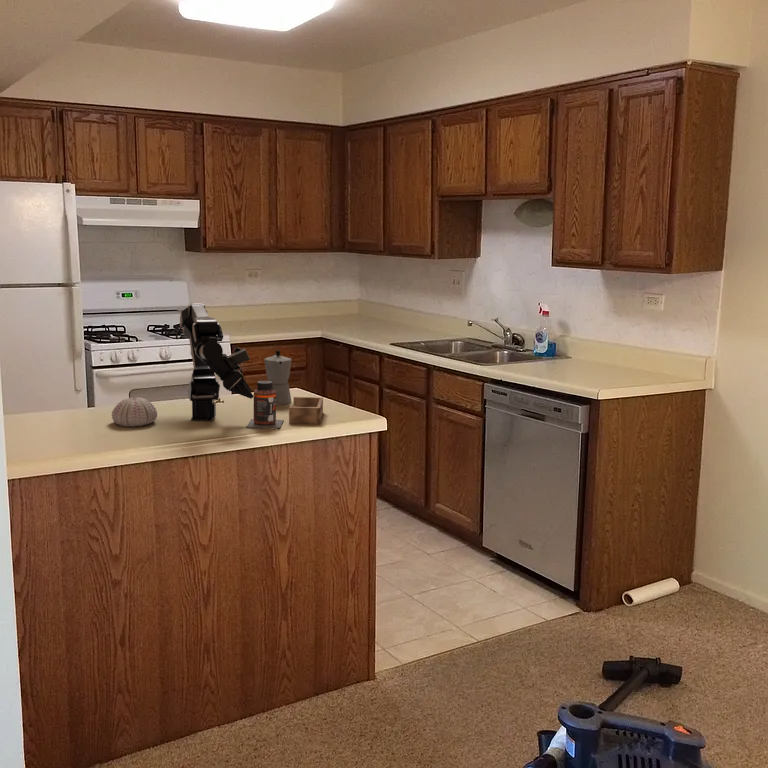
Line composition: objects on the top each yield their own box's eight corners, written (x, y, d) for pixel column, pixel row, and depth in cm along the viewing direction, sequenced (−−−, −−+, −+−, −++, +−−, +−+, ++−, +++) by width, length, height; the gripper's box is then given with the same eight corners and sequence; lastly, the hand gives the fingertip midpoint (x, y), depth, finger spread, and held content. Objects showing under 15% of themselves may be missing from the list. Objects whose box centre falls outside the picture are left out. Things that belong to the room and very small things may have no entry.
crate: (289, 423, 257) (289, 407, 256) (293, 411, 273) (293, 396, 272) (319, 423, 257) (320, 408, 256) (322, 412, 273) (323, 397, 272)
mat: (246, 428, 249) (246, 426, 249) (251, 420, 259) (251, 419, 259) (279, 428, 250) (279, 427, 250) (283, 421, 260) (283, 419, 259)
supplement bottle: (277, 425, 252) (277, 383, 250) (255, 426, 250) (255, 384, 248) (273, 420, 259) (274, 379, 256) (252, 421, 257) (252, 380, 254)
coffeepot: (294, 405, 282) (294, 353, 278) (266, 406, 279) (266, 353, 276) (287, 396, 296) (287, 346, 293) (261, 397, 294) (261, 346, 291)
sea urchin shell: (113, 430, 243) (112, 403, 242) (110, 419, 255) (109, 394, 254) (160, 427, 248) (159, 401, 246) (154, 417, 260) (154, 392, 259)
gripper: (234, 343, 240) (273, 381, 244) (232, 336, 258) (268, 371, 262) (206, 371, 239) (245, 408, 243) (206, 361, 257) (243, 396, 261)
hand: (251, 394), depth 253 cm, fingers open, 9 cm apart
